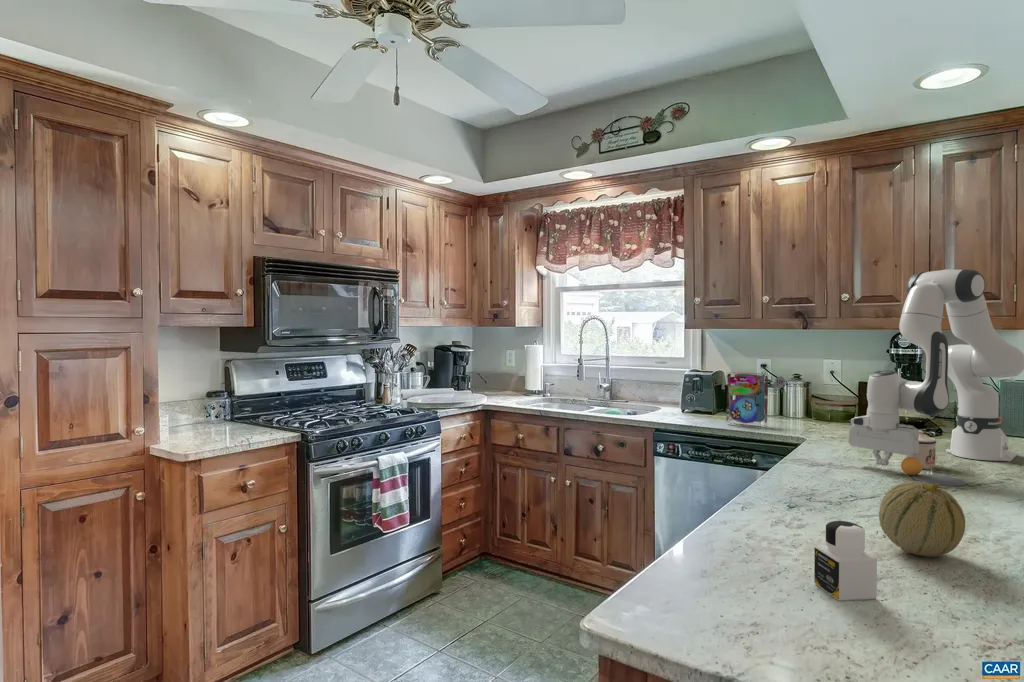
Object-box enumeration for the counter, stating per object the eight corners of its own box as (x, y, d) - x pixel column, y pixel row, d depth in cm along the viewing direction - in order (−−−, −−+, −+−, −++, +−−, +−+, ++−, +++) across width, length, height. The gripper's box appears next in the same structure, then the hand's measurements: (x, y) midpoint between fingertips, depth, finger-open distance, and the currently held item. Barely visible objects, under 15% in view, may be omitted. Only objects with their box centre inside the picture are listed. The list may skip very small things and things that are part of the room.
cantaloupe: (883, 535, 133) (884, 468, 133) (966, 551, 124) (967, 479, 124) (872, 556, 122) (873, 482, 122) (962, 574, 113) (963, 495, 112)
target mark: (925, 472, 188) (925, 472, 188) (974, 481, 177) (974, 481, 177) (904, 478, 181) (904, 478, 181) (954, 488, 170) (954, 487, 170)
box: (786, 428, 267) (787, 374, 266) (782, 430, 262) (782, 375, 262) (730, 423, 283) (730, 371, 282) (725, 425, 278) (725, 372, 278)
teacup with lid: (932, 470, 190) (932, 434, 190) (899, 466, 197) (899, 430, 197) (941, 464, 199) (941, 429, 198) (908, 460, 205) (909, 426, 205)
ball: (929, 464, 184) (918, 478, 186) (913, 452, 188) (902, 466, 190) (920, 466, 181) (910, 479, 183) (904, 454, 185) (893, 467, 187)
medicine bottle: (813, 583, 109) (813, 518, 109) (850, 581, 110) (851, 516, 110) (837, 601, 102) (838, 531, 102) (877, 599, 103) (878, 530, 103)
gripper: (923, 425, 185) (923, 469, 186) (856, 416, 202) (855, 457, 203) (913, 427, 182) (913, 472, 182) (845, 418, 199) (845, 460, 199)
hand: (882, 464), depth 193 cm, fingers closed
